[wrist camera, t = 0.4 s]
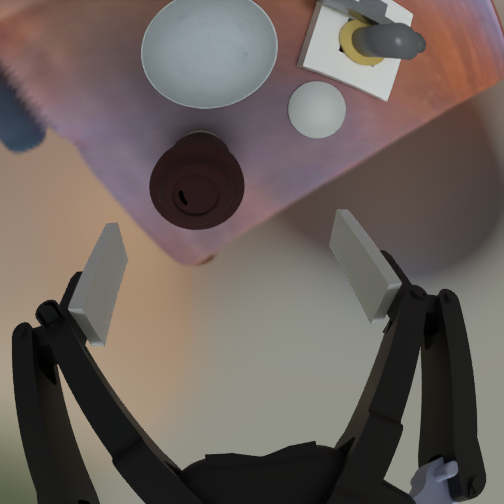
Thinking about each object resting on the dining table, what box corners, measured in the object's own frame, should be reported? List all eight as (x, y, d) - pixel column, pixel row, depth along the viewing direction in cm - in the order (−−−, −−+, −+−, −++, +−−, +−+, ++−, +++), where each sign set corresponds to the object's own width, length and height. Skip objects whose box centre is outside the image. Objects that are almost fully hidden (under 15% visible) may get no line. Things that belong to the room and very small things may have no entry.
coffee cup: (243, 129, 37) (260, 162, 25) (223, 189, 42) (230, 246, 31) (176, 113, 34) (156, 137, 22) (161, 176, 39) (140, 228, 28)
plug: (336, 14, 27) (385, 1, 17) (377, 34, 29) (432, 33, 18) (324, 53, 31) (370, 51, 21) (365, 71, 33) (419, 80, 22)
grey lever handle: (417, 39, 25) (427, 39, 23) (412, 55, 27) (423, 56, 25) (316, -15, 21) (323, -19, 19) (310, 3, 23) (317, -1, 21)
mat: (297, 73, 33) (298, 73, 32) (351, 93, 35) (353, 93, 35) (280, 128, 38) (281, 129, 37) (334, 144, 40) (335, 145, 40)
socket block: (325, -25, 22) (337, -33, 19) (402, 15, 26) (418, 14, 22) (296, 65, 32) (306, 65, 28) (376, 98, 35) (392, 103, 32)
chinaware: (234, 118, 36) (239, 128, 30) (137, 82, 30) (120, 85, 24) (284, 31, 29) (301, 23, 22) (185, -9, 23) (179, -26, 17)
